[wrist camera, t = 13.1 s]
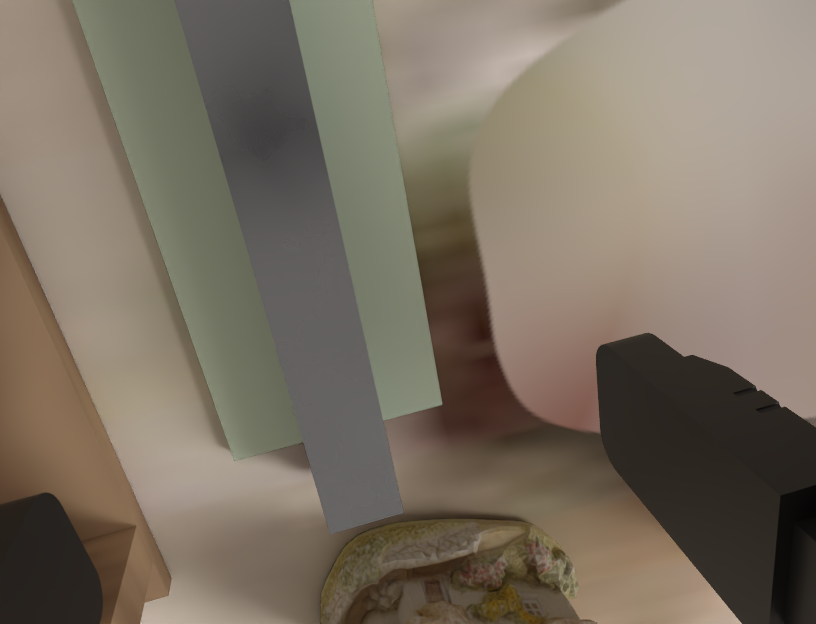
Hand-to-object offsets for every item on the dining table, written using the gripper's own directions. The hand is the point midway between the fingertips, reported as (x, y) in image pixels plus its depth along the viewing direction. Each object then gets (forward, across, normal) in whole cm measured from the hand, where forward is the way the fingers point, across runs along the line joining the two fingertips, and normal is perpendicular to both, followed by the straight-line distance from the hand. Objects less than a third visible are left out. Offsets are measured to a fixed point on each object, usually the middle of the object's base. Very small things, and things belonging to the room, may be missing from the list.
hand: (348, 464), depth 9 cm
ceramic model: (+16, -2, +21) cm, 27 cm away
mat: (+15, +1, 0) cm, 15 cm away
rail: (+15, 0, 0) cm, 15 cm away
